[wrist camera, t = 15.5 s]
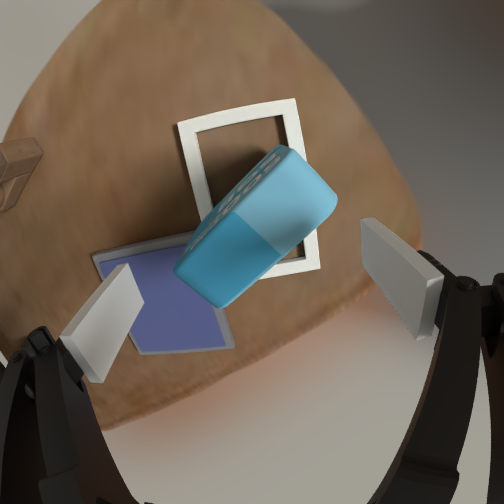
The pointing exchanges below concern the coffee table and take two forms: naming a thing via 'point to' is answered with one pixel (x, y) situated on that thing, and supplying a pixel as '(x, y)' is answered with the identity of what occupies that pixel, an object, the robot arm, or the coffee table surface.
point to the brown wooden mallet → (16, 168)
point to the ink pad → (167, 300)
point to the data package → (255, 226)
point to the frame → (199, 178)
